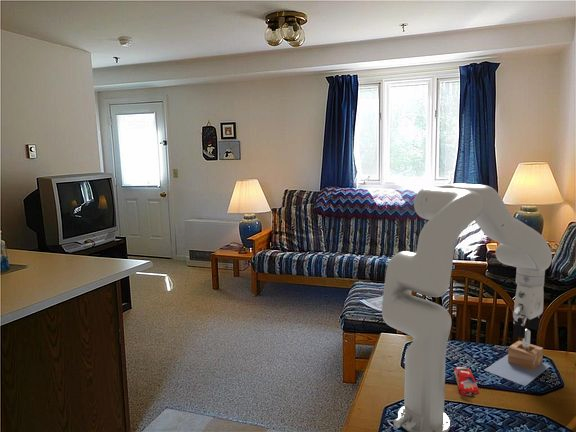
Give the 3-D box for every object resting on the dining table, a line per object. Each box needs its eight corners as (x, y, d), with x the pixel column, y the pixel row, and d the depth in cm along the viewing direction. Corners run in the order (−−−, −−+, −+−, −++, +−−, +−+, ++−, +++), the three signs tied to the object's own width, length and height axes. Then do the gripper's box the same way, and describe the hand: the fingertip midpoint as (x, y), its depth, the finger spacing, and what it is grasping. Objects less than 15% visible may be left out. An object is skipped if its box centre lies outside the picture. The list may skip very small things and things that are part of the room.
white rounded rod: (526, 364, 133) (529, 331, 132) (520, 362, 135) (522, 329, 133) (529, 362, 134) (531, 329, 133) (523, 360, 136) (525, 327, 134)
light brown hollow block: (532, 370, 130) (533, 355, 129) (507, 361, 135) (508, 346, 134) (542, 363, 134) (543, 347, 133) (518, 354, 140) (519, 340, 139)
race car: (480, 400, 118) (480, 387, 117) (459, 398, 119) (459, 385, 118) (471, 376, 130) (472, 363, 130) (452, 374, 131) (452, 362, 131)
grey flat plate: (524, 390, 122) (525, 386, 121) (483, 373, 131) (483, 369, 131) (550, 369, 133) (551, 365, 132) (511, 355, 142) (511, 351, 142)
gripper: (530, 287, 122) (526, 344, 125) (554, 276, 133) (550, 329, 135) (503, 281, 128) (500, 336, 130) (529, 271, 139) (525, 322, 141)
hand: (526, 332), depth 133 cm, fingers open, 9 cm apart
